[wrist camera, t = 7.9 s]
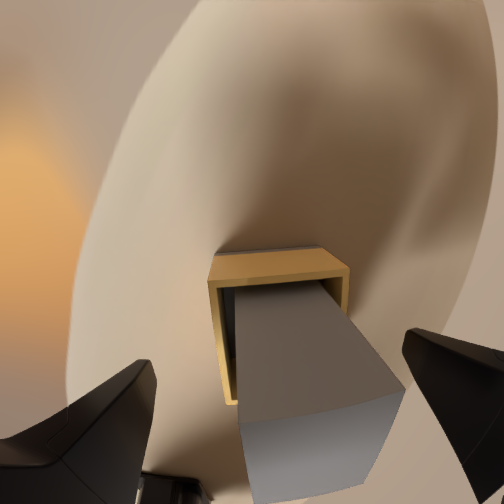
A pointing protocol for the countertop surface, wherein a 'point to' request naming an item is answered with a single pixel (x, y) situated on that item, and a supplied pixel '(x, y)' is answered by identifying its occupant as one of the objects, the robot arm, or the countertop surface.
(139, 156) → the countertop surface
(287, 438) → the plug
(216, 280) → the socket block
